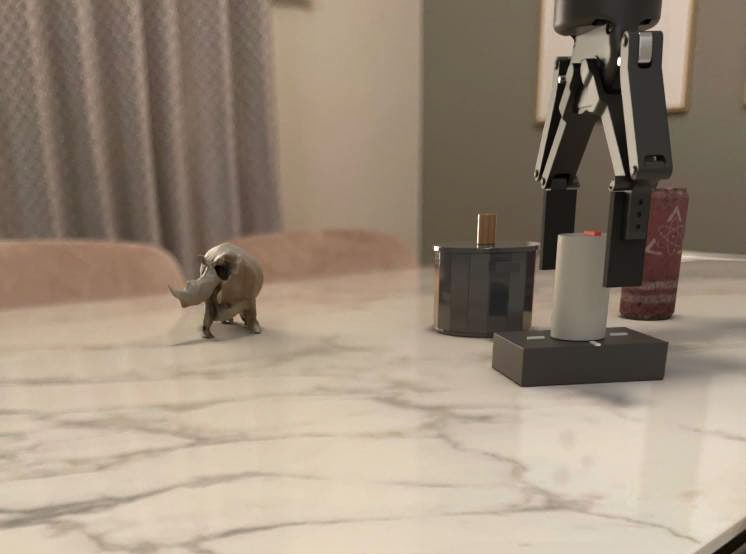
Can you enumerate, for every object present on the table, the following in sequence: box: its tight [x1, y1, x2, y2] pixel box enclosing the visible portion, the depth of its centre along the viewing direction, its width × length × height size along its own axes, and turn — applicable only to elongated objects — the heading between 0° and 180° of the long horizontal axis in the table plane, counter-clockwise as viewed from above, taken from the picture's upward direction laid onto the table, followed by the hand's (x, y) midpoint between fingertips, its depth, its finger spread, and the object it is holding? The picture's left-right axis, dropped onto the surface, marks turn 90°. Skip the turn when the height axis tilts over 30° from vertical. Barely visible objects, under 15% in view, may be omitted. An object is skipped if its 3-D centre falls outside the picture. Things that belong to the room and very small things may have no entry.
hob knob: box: [550, 230, 611, 341], centre depth 69 cm, size 4×4×8 cm
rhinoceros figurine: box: [167, 241, 265, 339], centre depth 94 cm, size 8×14×15 cm
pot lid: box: [431, 212, 541, 253], centre depth 90 cm, size 11×11×4 cm
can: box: [618, 186, 690, 321], centre depth 97 cm, size 6×6×14 cm
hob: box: [491, 326, 669, 387], centre depth 71 cm, size 12×9×3 cm
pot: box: [433, 250, 538, 338], centre depth 92 cm, size 11×16×8 cm, turn 8°
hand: (585, 277), depth 69 cm, fingers open, 13 cm apart
